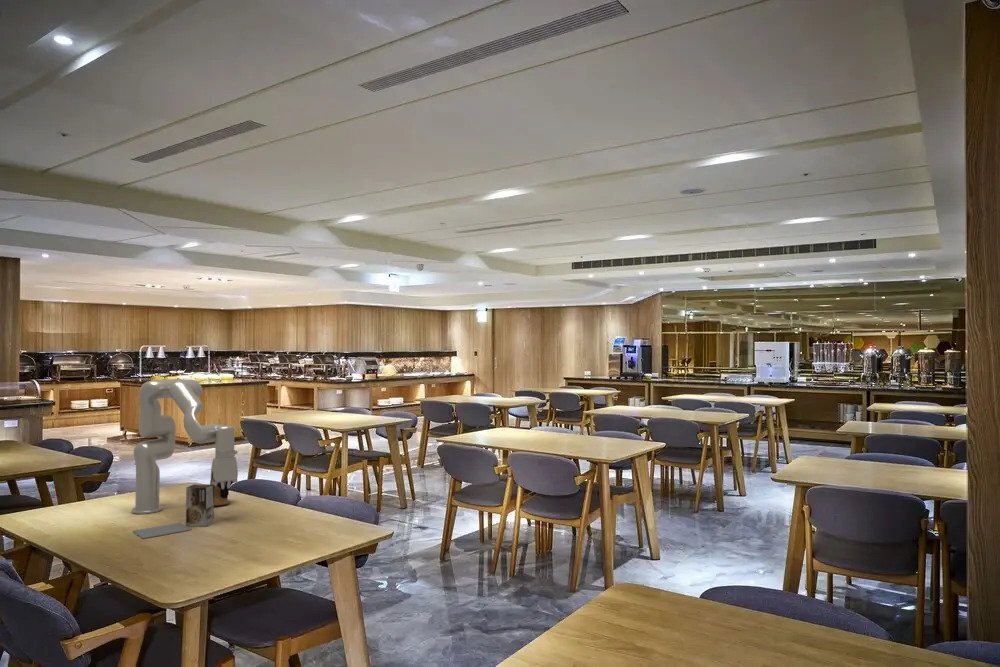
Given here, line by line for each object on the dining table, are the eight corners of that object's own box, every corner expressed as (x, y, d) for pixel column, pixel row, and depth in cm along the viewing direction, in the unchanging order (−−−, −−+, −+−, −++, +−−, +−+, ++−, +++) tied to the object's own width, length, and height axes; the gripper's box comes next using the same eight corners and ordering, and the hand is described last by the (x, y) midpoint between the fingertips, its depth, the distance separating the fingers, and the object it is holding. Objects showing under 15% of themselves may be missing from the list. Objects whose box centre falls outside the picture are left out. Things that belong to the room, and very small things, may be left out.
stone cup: (236, 504, 306) (237, 472, 307) (211, 508, 298) (211, 476, 298) (222, 499, 317) (223, 468, 317) (198, 503, 308) (198, 471, 308)
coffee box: (214, 522, 274) (214, 484, 274) (206, 526, 267) (206, 487, 268) (193, 522, 275) (194, 483, 275) (185, 526, 268) (185, 486, 269)
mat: (132, 531, 260) (132, 530, 260) (180, 523, 272) (180, 522, 272) (142, 539, 250) (142, 538, 250) (192, 530, 262) (192, 529, 262)
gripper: (238, 451, 286) (238, 493, 286) (203, 455, 276) (203, 499, 276) (245, 453, 281) (245, 496, 281) (210, 457, 271) (209, 502, 270)
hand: (224, 497), depth 278 cm, fingers closed
